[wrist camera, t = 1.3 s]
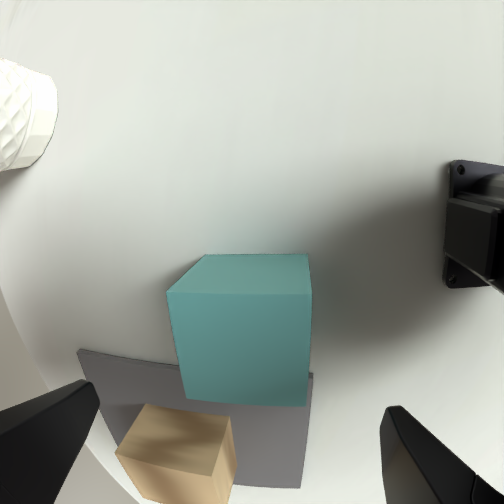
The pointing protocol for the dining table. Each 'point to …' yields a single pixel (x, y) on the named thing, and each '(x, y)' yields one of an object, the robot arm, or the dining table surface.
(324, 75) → the dining table surface
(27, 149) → the white cup
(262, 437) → the build board
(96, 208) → the dining table surface
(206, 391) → the teal cube
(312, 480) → the dining table surface
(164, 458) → the oak base block
